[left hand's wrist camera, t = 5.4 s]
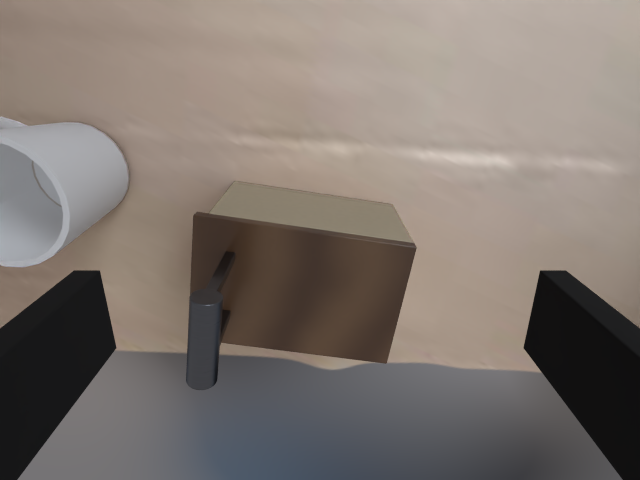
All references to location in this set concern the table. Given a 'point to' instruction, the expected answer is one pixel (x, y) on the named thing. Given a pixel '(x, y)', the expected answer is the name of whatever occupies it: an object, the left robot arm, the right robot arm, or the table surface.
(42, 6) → the table surface
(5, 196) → the mug
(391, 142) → the table surface
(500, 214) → the table surface
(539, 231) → the table surface
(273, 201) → the chest
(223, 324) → the lid
